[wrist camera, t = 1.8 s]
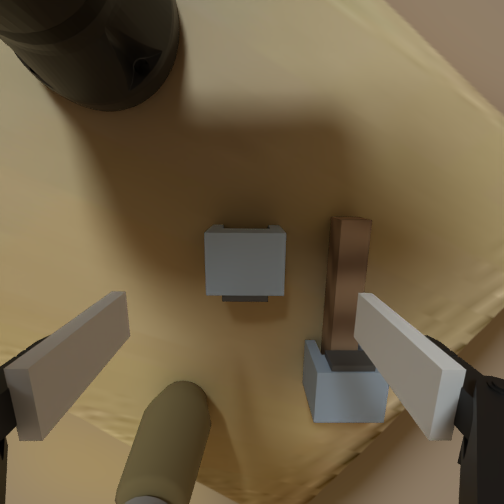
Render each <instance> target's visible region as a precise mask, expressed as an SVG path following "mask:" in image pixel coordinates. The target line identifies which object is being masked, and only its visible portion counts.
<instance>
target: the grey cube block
mask: <svg viewBox="0 0 504 504" xmlns="http://www.w3.org/2000/svg"><path fill="white" fill-rule="evenodd" d="M204 244H205V276H206V295H222V301H236V302H268V296H284V280H285V255H286V232H285V231H284V230H283V229H282V228H281V227H280V226H279V225H268V229H241V228H224V225H212V226H211V227H210V228H209V229H208V230H207V231H206V232H204Z"/></svg>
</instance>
